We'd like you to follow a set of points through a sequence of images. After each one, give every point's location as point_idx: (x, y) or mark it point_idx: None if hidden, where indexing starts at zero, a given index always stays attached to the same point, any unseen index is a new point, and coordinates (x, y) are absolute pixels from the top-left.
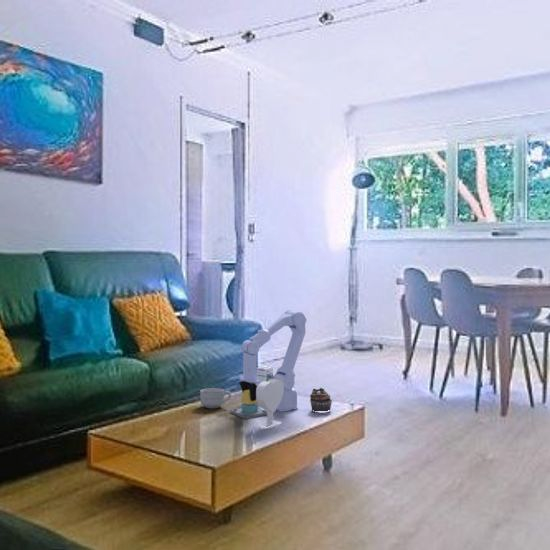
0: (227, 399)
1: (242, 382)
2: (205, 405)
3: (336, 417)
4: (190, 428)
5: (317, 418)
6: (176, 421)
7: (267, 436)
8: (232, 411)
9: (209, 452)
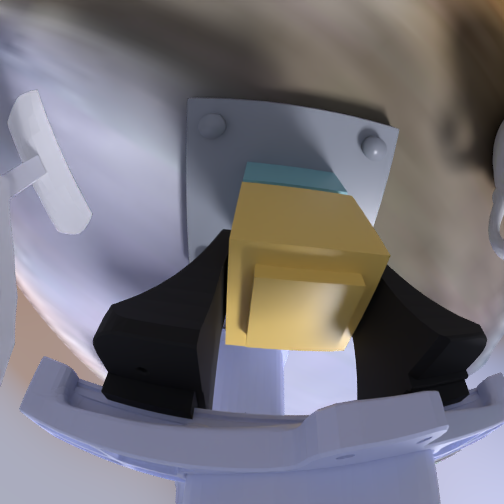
0: (492, 216)
1: (445, 368)
2: None
3: (85, 364)
4: None
5: (83, 337)
6: None
7: None
8: (374, 121)
9: None
